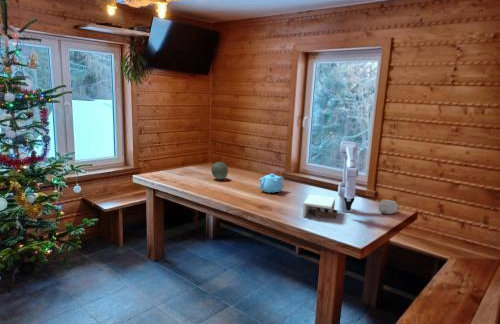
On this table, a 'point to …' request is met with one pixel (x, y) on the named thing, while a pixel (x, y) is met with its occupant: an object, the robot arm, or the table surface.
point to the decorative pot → (271, 183)
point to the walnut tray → (326, 212)
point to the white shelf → (317, 203)
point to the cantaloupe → (219, 170)
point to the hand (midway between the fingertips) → (348, 210)
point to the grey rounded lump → (388, 207)
